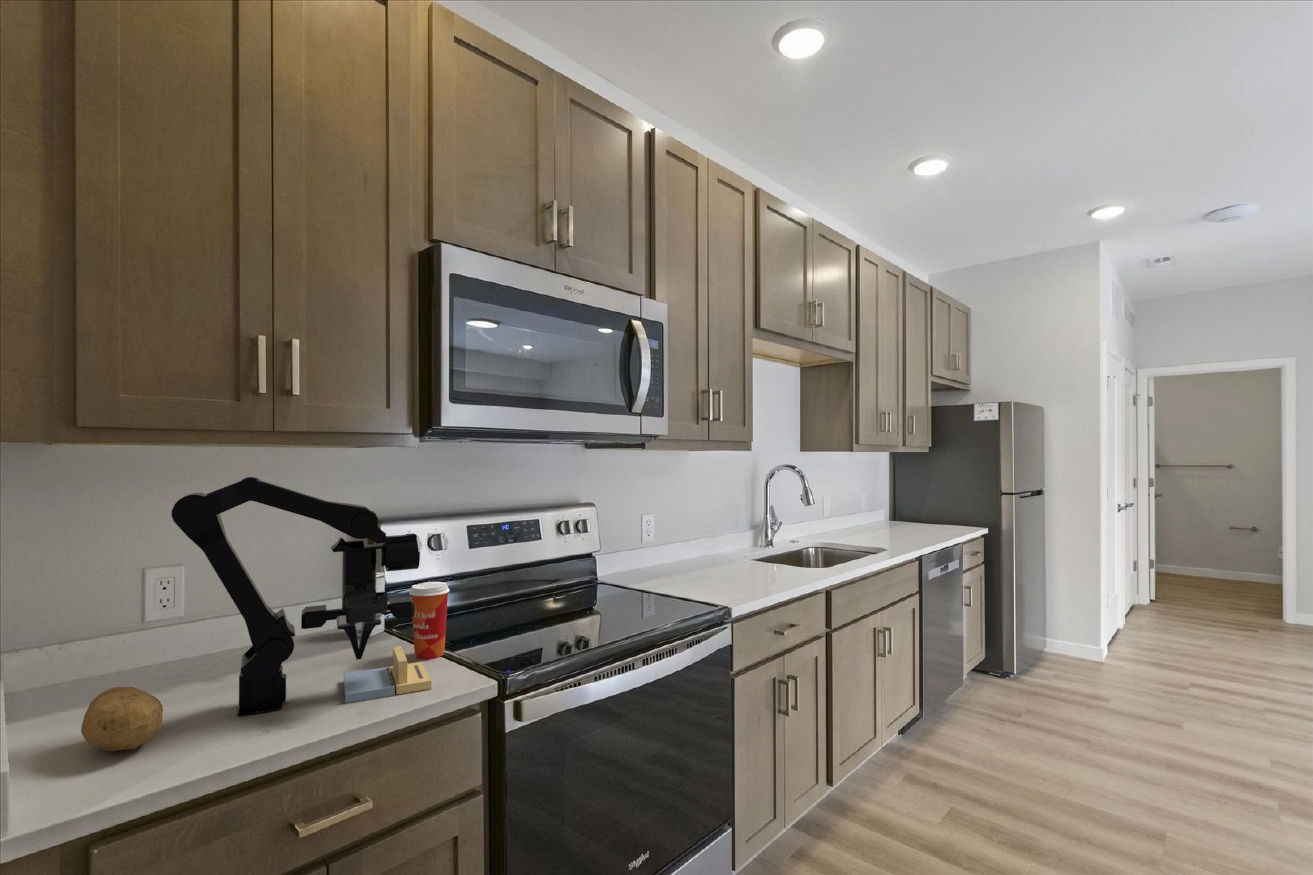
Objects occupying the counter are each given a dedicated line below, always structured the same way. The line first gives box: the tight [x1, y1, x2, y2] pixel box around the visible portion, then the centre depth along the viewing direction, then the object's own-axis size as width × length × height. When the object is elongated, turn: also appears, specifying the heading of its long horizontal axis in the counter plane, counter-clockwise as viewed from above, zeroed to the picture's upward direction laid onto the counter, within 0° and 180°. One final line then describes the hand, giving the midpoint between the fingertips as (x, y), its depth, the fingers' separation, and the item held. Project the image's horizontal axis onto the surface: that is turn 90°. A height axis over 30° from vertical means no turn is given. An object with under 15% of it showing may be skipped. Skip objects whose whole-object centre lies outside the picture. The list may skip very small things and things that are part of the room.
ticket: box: [343, 666, 396, 704], centre depth 121 cm, size 8×12×2 cm, turn 27°
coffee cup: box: [408, 581, 451, 660], centre depth 140 cm, size 8×8×15 cm
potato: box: [80, 686, 164, 752], centre depth 97 cm, size 10×14×8 cm
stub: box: [389, 645, 432, 695], centre depth 124 cm, size 6×12×6 cm, turn 27°
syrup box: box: [355, 572, 386, 638], centre depth 157 cm, size 6×6×14 cm
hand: (358, 658), depth 120 cm, fingers closed
